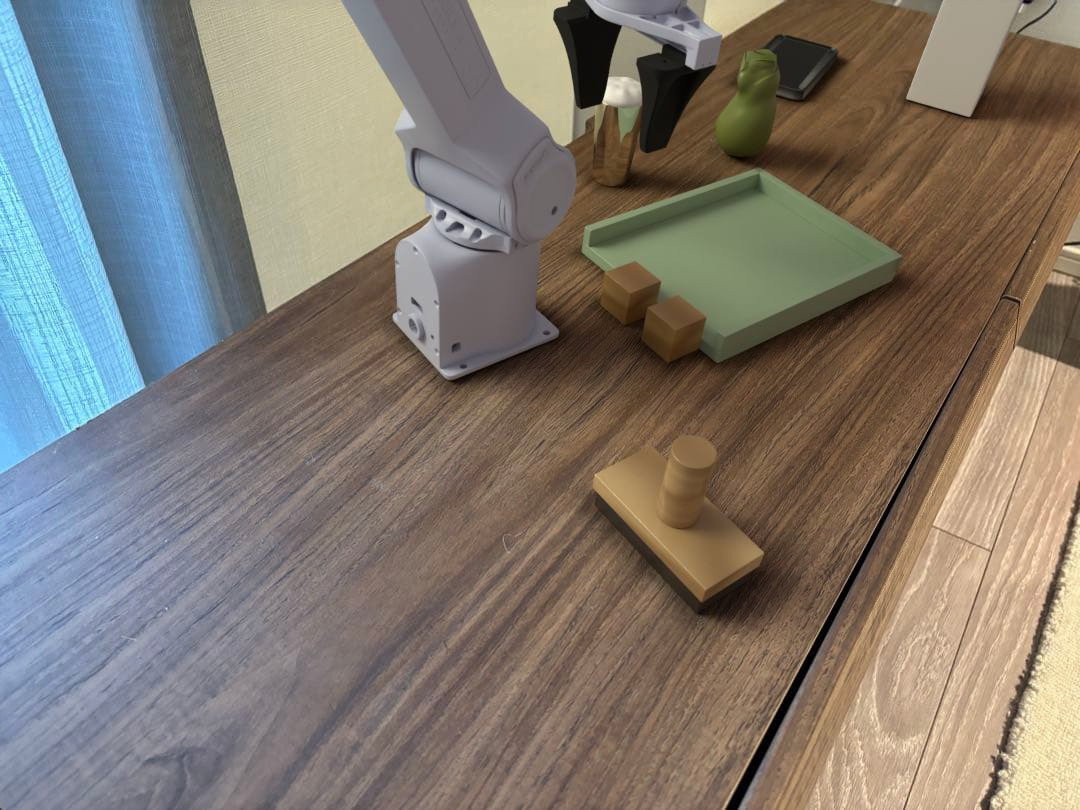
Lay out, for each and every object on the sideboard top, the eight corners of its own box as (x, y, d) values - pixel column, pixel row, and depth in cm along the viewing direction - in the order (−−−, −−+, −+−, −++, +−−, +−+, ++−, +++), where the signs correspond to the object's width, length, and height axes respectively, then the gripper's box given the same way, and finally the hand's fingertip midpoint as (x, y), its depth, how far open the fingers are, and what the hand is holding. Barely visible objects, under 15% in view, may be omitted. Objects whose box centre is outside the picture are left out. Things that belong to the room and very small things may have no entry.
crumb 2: (667, 363, 62) (675, 330, 60) (640, 340, 64) (647, 307, 62) (698, 349, 63) (707, 316, 61) (671, 326, 65) (678, 294, 63)
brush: (696, 619, 47) (727, 530, 42) (589, 503, 52) (605, 412, 47) (753, 581, 49) (790, 492, 44) (644, 474, 54) (666, 383, 49)
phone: (840, 49, 104) (803, 92, 94) (837, 58, 105) (800, 102, 95) (777, 32, 107) (735, 72, 97) (775, 41, 107) (732, 82, 97)
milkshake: (640, 195, 79) (658, 87, 72) (581, 185, 79) (594, 77, 72) (645, 171, 82) (664, 66, 75) (589, 162, 82) (602, 56, 75)
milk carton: (969, 119, 96) (1053, -72, 82) (904, 100, 98) (976, -88, 85) (980, 96, 100) (1061, -88, 87) (918, 79, 102) (988, -103, 89)
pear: (761, 171, 83) (790, 68, 76) (706, 160, 84) (729, 57, 77) (766, 146, 87) (794, 45, 80) (714, 135, 88) (736, 35, 81)
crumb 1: (624, 325, 65) (630, 293, 63) (599, 304, 66) (604, 271, 64) (655, 313, 66) (661, 281, 64) (629, 292, 68) (635, 260, 66)
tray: (717, 363, 62) (725, 337, 61) (581, 252, 71) (584, 226, 70) (892, 281, 72) (903, 255, 70) (752, 191, 81) (759, 167, 79)
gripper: (773, -47, 54) (726, 155, 63) (623, -111, 62) (601, 77, 71) (688, -30, 50) (652, 180, 60) (542, -100, 58) (531, 95, 68)
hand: (620, 126), depth 65 cm, fingers open, 7 cm apart
